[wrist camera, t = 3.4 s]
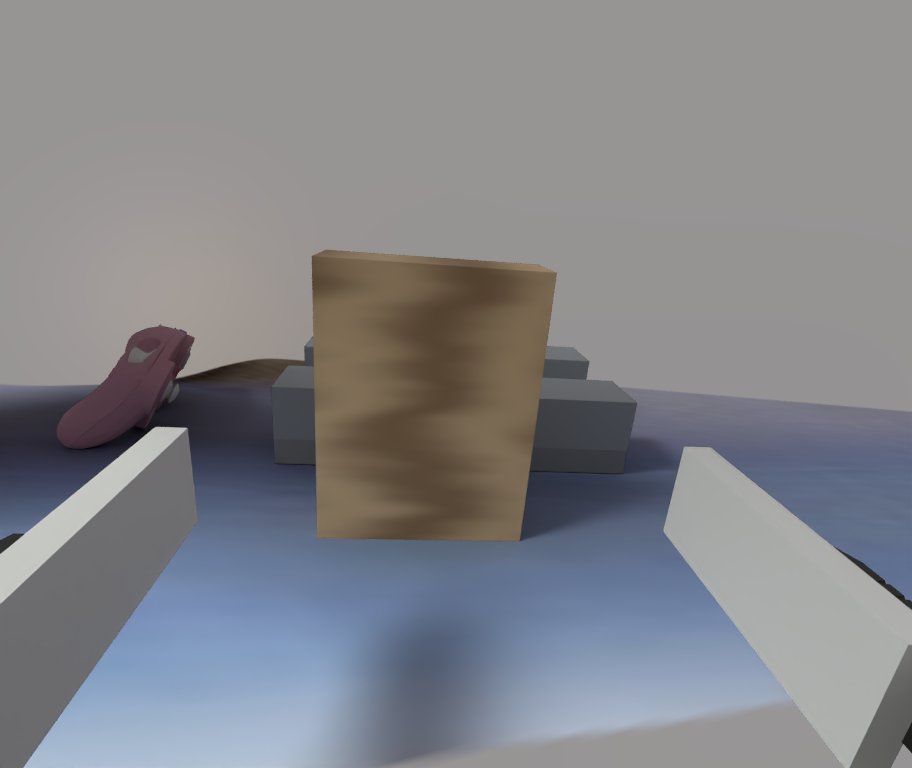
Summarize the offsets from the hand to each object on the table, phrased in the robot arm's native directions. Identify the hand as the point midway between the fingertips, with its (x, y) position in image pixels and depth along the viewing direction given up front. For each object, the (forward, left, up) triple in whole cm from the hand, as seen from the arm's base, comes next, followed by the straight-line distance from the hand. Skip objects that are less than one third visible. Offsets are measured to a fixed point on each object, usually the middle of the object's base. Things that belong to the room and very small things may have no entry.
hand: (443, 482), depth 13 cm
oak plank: (0, +8, -7) cm, 11 cm away
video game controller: (-18, +19, -7) cm, 27 cm away
